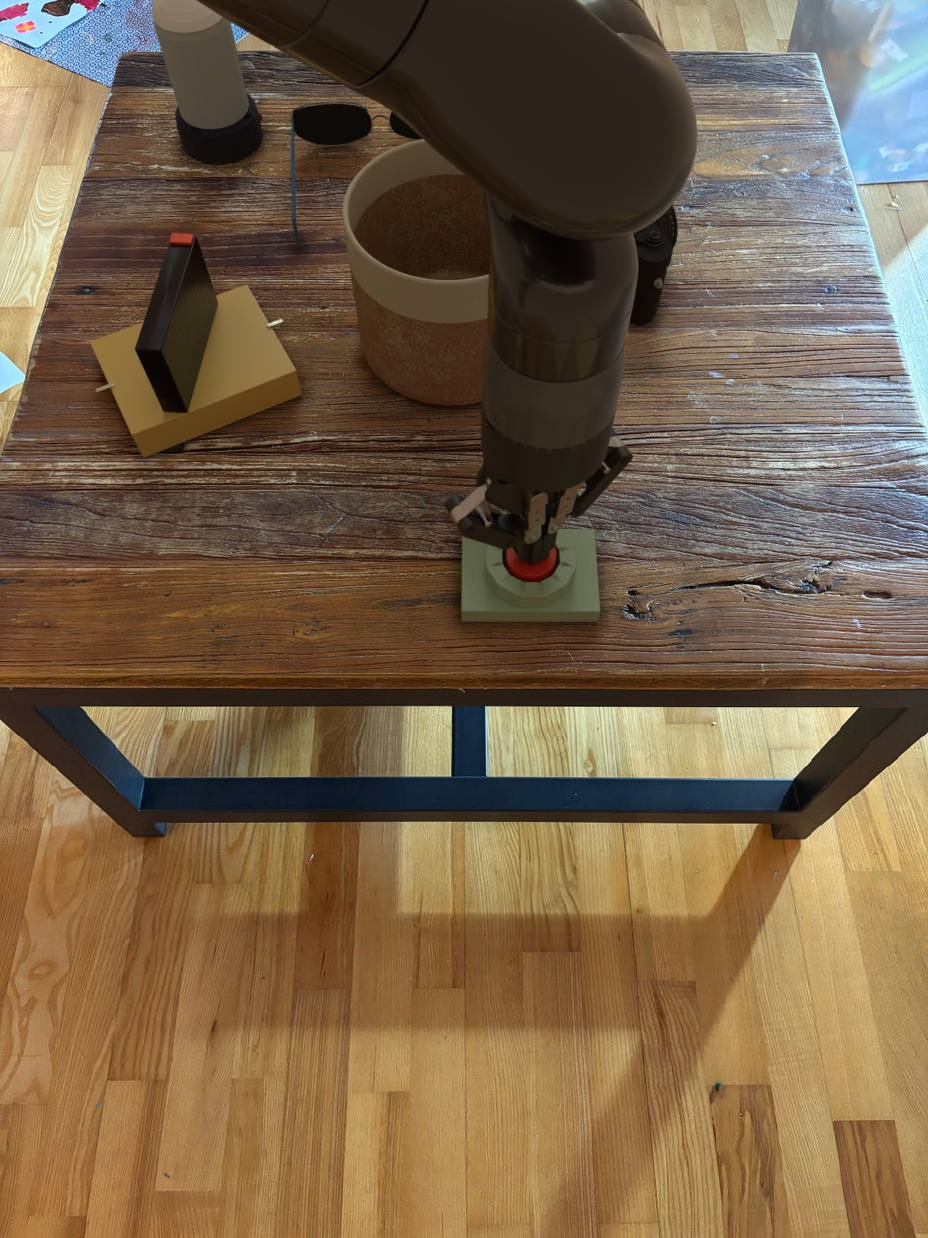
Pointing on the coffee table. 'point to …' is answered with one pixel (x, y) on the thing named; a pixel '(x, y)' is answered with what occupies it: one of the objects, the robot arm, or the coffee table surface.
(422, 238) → the planter
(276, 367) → the plate
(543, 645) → the coffee table surface
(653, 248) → the camera
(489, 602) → the button block
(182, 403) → the block
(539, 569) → the button
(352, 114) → the sunglasses
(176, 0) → the humidifier
